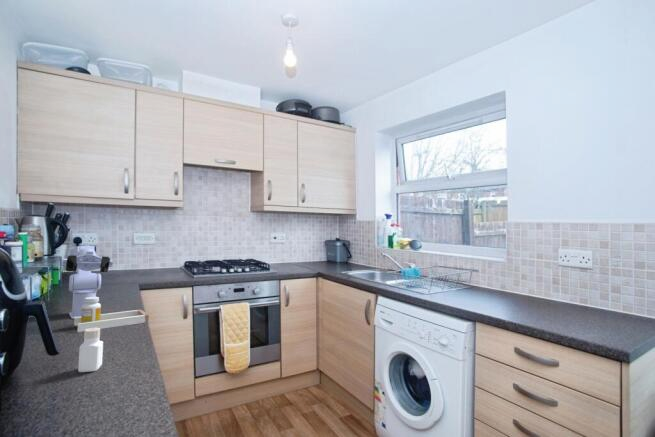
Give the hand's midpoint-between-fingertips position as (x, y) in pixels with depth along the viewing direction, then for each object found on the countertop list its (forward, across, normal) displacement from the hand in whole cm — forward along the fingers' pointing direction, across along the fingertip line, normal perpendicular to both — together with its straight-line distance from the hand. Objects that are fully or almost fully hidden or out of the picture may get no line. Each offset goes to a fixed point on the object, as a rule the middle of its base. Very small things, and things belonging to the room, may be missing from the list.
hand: (89, 269), depth 113 cm
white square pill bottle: (+42, 0, +14) cm, 44 cm away
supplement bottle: (+1, +3, +20) cm, 20 cm away
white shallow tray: (0, +9, +19) cm, 21 cm away
